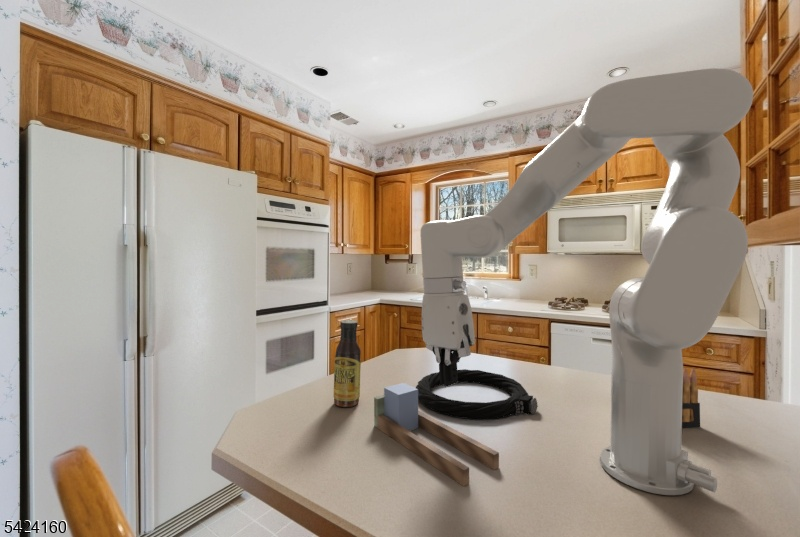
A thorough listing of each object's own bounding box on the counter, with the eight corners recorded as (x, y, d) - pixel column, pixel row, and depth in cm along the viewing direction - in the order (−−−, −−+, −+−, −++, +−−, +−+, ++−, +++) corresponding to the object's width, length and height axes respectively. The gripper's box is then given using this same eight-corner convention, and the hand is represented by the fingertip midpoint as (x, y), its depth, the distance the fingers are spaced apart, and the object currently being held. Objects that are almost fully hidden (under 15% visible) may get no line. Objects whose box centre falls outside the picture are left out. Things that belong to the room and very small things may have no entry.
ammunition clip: (692, 423, 77) (693, 366, 76) (700, 427, 75) (701, 369, 75) (644, 425, 76) (644, 367, 76) (650, 429, 74) (651, 370, 74)
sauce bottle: (329, 407, 85) (328, 323, 85) (339, 397, 92) (339, 318, 91) (355, 410, 84) (355, 324, 83) (364, 399, 90) (364, 319, 89)
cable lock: (449, 362, 111) (552, 381, 93) (449, 374, 111) (552, 396, 93) (392, 387, 89) (514, 420, 71) (392, 403, 89) (514, 439, 71)
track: (498, 467, 61) (499, 431, 61) (463, 486, 56) (463, 447, 56) (406, 415, 81) (406, 388, 81) (374, 425, 76) (374, 397, 76)
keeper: (418, 427, 75) (418, 389, 75) (398, 435, 72) (398, 394, 72) (403, 419, 79) (403, 382, 79) (384, 425, 76) (384, 387, 76)
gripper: (487, 285, 65) (493, 388, 65) (431, 285, 77) (436, 371, 77) (458, 289, 61) (465, 399, 61) (403, 288, 73) (408, 380, 73)
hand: (449, 383), depth 69 cm, fingers closed
